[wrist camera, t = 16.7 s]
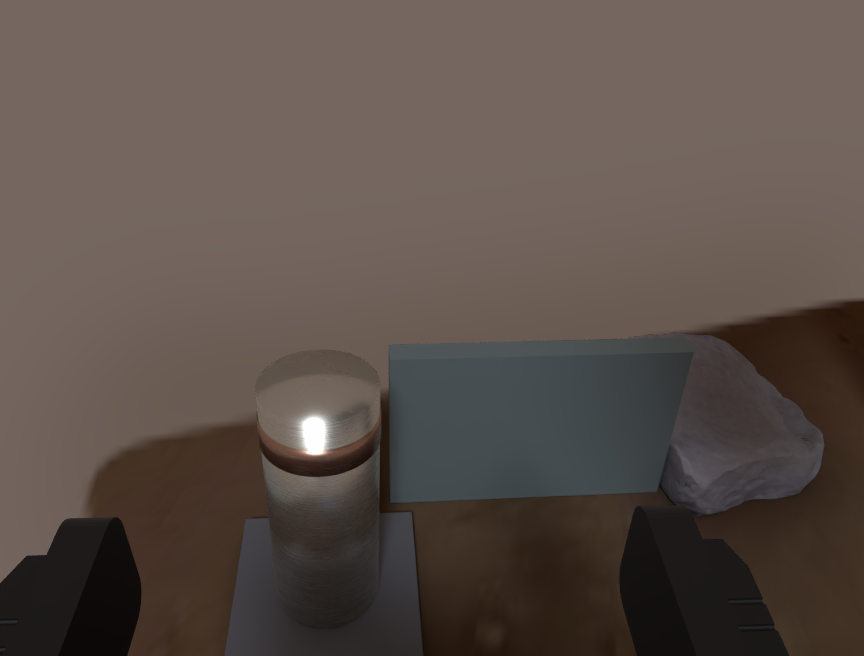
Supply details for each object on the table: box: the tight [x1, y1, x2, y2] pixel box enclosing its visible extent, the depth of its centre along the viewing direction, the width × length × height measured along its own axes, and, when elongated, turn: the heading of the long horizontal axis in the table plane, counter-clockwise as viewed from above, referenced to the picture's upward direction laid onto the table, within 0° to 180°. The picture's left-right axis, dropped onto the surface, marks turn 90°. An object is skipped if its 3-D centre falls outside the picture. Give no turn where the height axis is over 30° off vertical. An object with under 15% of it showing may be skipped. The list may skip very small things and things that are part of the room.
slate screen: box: [389, 337, 694, 503], centre depth 38 cm, size 14×1×9 cm, turn 95°
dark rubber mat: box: [224, 512, 423, 656], centre depth 34 cm, size 8×8×1 cm
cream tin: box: [255, 350, 381, 629], centre depth 31 cm, size 5×5×11 cm
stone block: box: [627, 332, 824, 516], centre depth 44 cm, size 12×5×10 cm
